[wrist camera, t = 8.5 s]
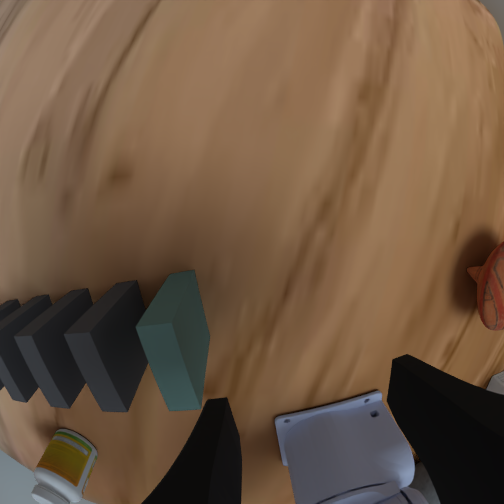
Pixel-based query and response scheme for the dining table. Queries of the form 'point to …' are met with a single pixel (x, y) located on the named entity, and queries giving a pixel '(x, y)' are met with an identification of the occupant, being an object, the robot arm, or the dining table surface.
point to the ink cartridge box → (497, 383)
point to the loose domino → (177, 341)
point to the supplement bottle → (64, 469)
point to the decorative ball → (424, 484)
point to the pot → (491, 289)
